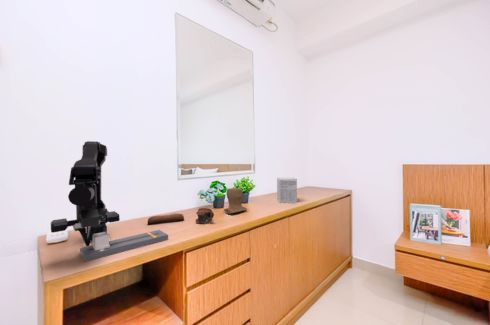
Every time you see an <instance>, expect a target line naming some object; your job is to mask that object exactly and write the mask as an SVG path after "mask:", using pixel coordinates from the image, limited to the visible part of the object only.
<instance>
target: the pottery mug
mask: <svg viewBox="0 0 490 325" xmlns="http://www.w3.org/2000/svg"><path fill="white" fill-rule="evenodd" d="M197 210H198V211H197V212H195V215H196V216H197V218H196V219H195V224H203V225H207V222H208V223H209V222H212V220H213V218H214V216H215V214H214V212H213V210H212V209H210V208H208V207H207V208H206V207H201V208H199V209H197Z"/></svg>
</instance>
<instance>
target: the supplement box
mask: <svg viewBox="0 0 490 325" xmlns="http://www.w3.org/2000/svg"><path fill="white" fill-rule="evenodd" d="M276 196H277V197H276V198H277V199H276V200H277V201H278V203H280V204H281V203H282V204H283V203H285V204H286V203H287V204H289V203H291V204H292V203H295V204H297V203H298V180H297V178H295V177H277V178H276Z"/></svg>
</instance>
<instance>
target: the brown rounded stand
mask: <svg viewBox="0 0 490 325" xmlns="http://www.w3.org/2000/svg"><path fill="white" fill-rule="evenodd" d="M243 197H244V196H243V188H241V187H230V188H227V189H226V198H227V201H228V206H227V207H226V208H224V209H223V212H224V213H225V214H227V215H232V214H236V213H237V214H238V213H241V212H244V211H246V210H248V208H247V207H244V206H243V205H242V202H243Z"/></svg>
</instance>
